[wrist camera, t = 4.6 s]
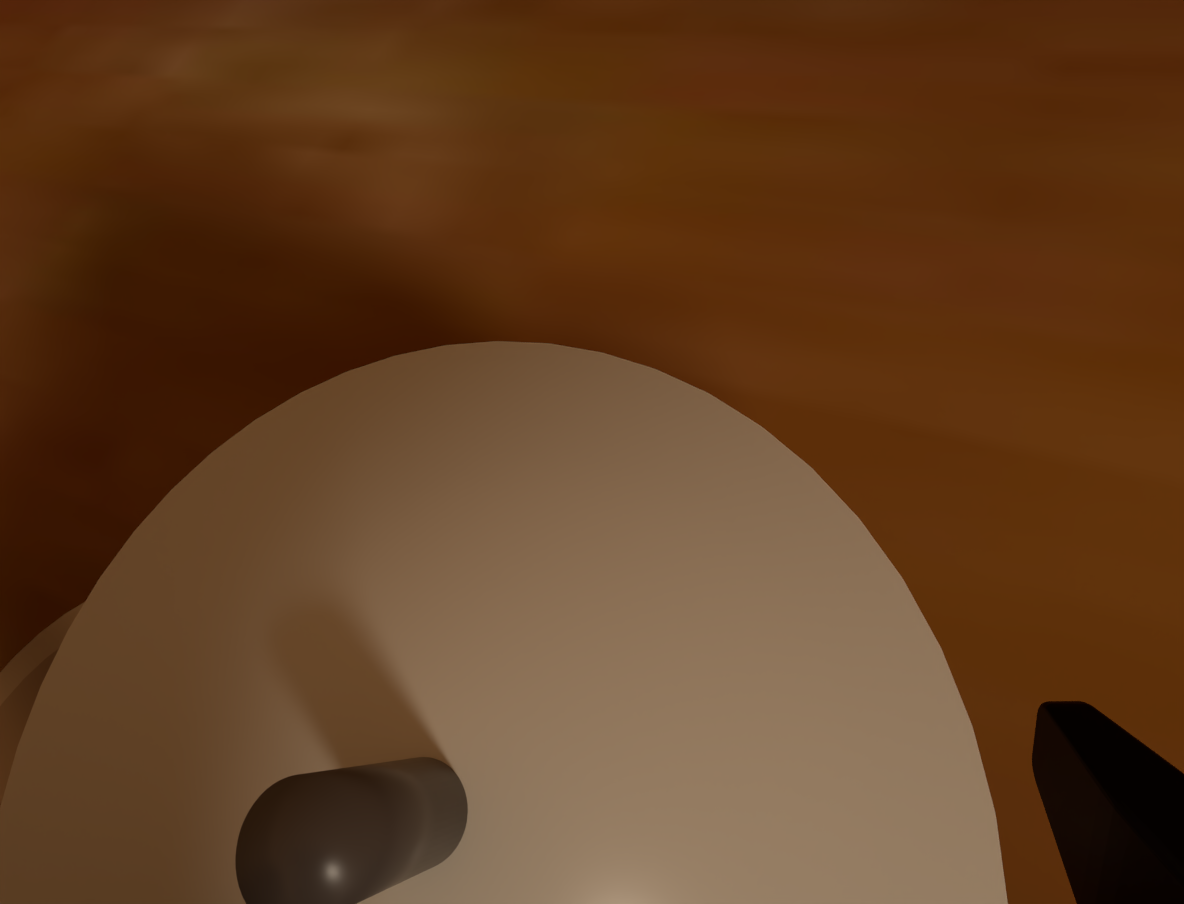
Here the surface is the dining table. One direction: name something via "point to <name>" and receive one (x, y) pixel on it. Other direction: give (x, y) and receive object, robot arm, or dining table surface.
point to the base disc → (26, 687)
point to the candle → (500, 667)
